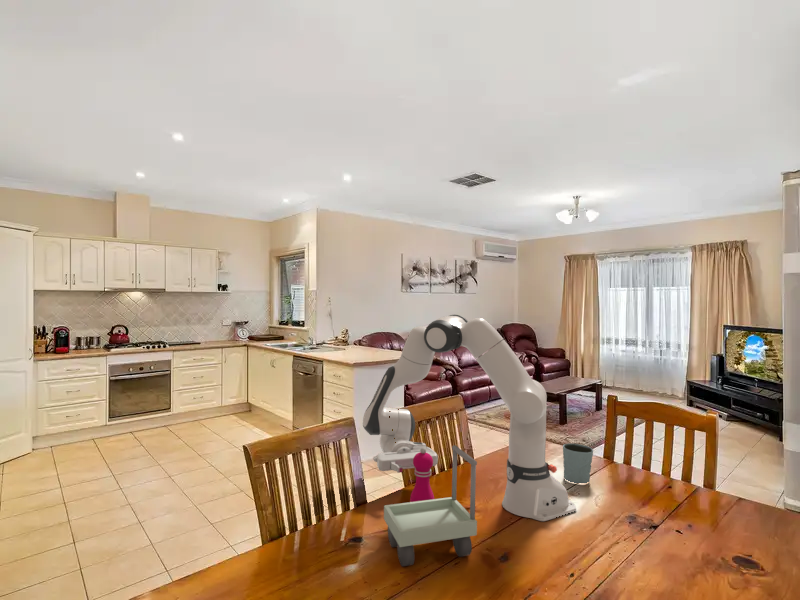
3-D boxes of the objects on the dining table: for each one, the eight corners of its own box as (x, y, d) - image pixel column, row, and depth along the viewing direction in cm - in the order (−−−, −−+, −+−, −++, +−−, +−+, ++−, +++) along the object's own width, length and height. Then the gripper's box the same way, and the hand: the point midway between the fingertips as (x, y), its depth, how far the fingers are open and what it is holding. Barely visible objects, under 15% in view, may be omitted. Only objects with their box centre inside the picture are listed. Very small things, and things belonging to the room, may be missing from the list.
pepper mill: (432, 522, 128) (433, 452, 128) (407, 519, 130) (409, 450, 130) (435, 510, 135) (436, 444, 135) (412, 507, 137) (413, 442, 137)
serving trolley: (452, 529, 124) (454, 443, 124) (476, 559, 110) (479, 461, 110) (382, 540, 118) (384, 449, 118) (399, 572, 104) (401, 469, 104)
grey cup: (556, 476, 164) (557, 444, 164) (579, 474, 167) (579, 442, 167) (574, 488, 154) (575, 453, 154) (598, 485, 157) (599, 451, 157)
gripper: (372, 447, 150) (382, 461, 137) (428, 442, 156) (444, 455, 143) (371, 466, 150) (382, 482, 137) (428, 460, 156) (443, 475, 143)
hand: (414, 468), depth 140 cm, fingers open, 8 cm apart
